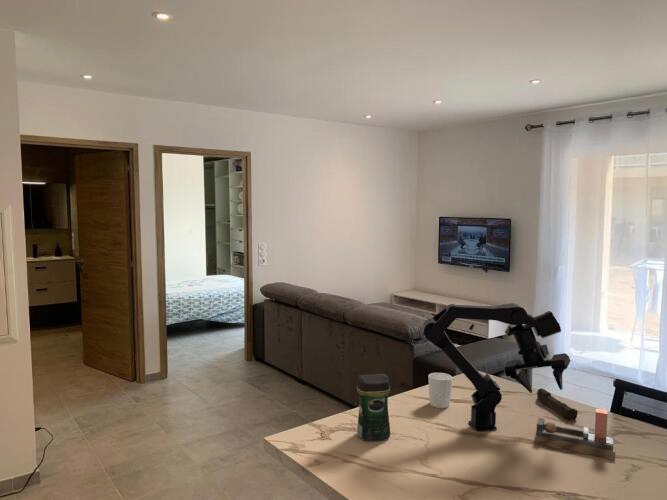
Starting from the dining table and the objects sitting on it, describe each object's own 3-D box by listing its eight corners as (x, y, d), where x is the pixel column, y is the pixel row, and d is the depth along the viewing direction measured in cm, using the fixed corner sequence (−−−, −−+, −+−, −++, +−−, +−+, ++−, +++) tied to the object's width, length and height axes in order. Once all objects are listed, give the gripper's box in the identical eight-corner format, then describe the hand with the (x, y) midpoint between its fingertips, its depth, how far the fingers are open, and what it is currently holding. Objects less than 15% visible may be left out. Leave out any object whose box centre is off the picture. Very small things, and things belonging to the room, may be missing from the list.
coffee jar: (385, 429, 151) (386, 369, 149) (392, 441, 143) (393, 378, 141) (354, 431, 149) (354, 371, 148) (359, 443, 141) (360, 380, 140)
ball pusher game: (534, 443, 142) (535, 426, 141) (537, 431, 149) (538, 415, 149) (614, 459, 132) (615, 441, 132) (613, 445, 140) (614, 428, 140)
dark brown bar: (578, 421, 157) (578, 406, 157) (566, 421, 157) (567, 407, 156) (544, 399, 176) (545, 386, 176) (534, 399, 175) (534, 386, 175)
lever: (583, 441, 138) (584, 411, 137) (583, 435, 142) (584, 405, 141) (612, 447, 134) (614, 416, 134) (612, 441, 138) (613, 410, 138)
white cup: (453, 409, 166) (454, 380, 165) (430, 409, 166) (430, 380, 165) (448, 400, 174) (449, 372, 173) (426, 400, 174) (426, 372, 173)
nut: (548, 436, 142) (549, 425, 141) (541, 431, 145) (542, 420, 145) (558, 435, 142) (559, 424, 142) (551, 430, 145) (552, 419, 145)
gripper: (564, 327, 149) (583, 375, 150) (506, 337, 161) (524, 381, 162) (555, 343, 141) (575, 392, 141) (495, 352, 153) (514, 398, 153)
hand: (546, 390), depth 150 cm, fingers open, 9 cm apart
